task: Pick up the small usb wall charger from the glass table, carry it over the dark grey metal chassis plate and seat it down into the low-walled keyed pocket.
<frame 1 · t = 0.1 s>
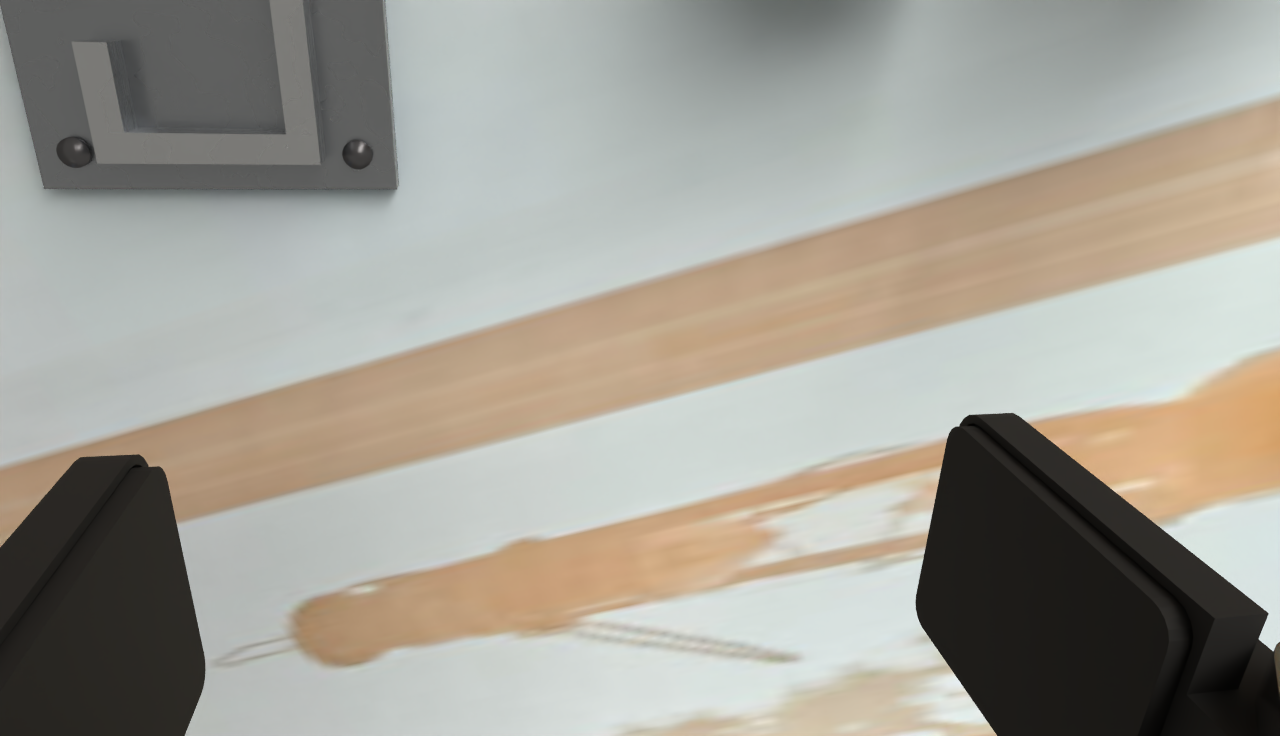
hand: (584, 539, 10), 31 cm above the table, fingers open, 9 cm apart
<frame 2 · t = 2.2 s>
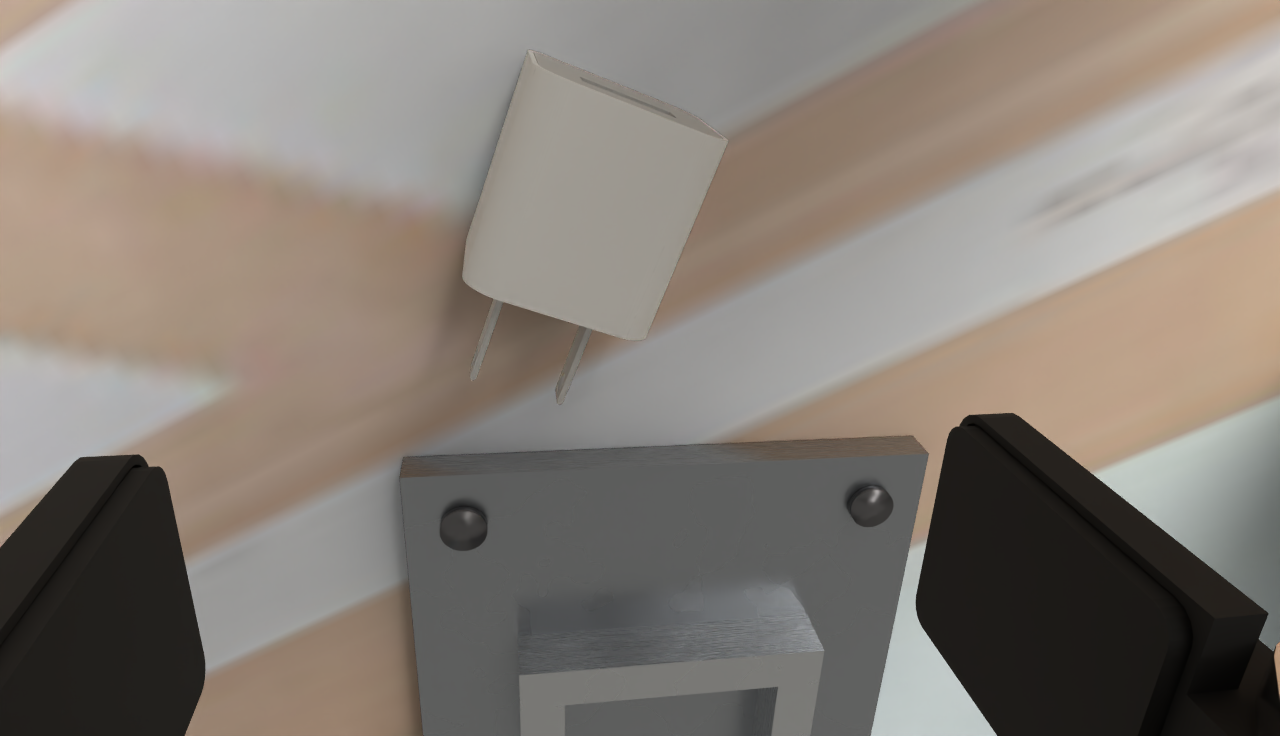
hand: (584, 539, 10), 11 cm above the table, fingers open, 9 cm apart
chassis: (654, 694, 27), on the table
usb wall charger: (559, 222, 21), on the table
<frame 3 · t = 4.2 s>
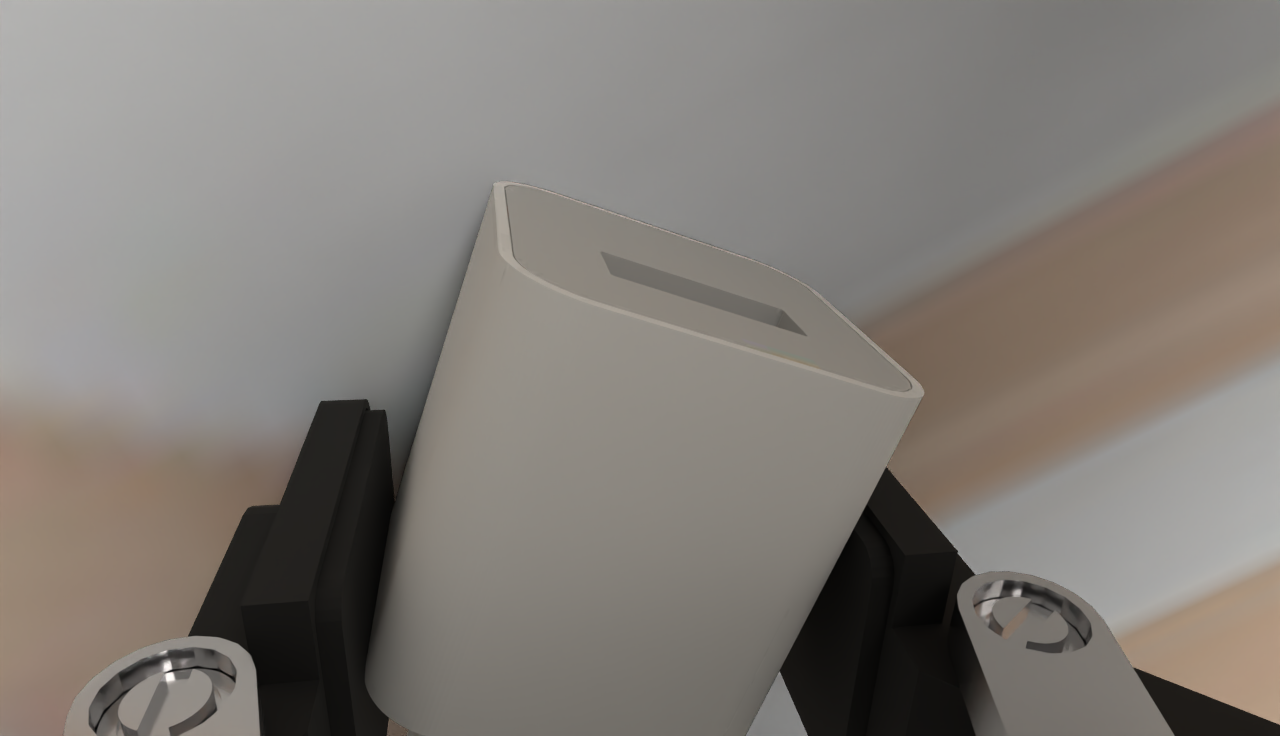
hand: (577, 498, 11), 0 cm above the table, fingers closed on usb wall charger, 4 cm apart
usb wall charger: (560, 460, 12), on the table, touching gripper
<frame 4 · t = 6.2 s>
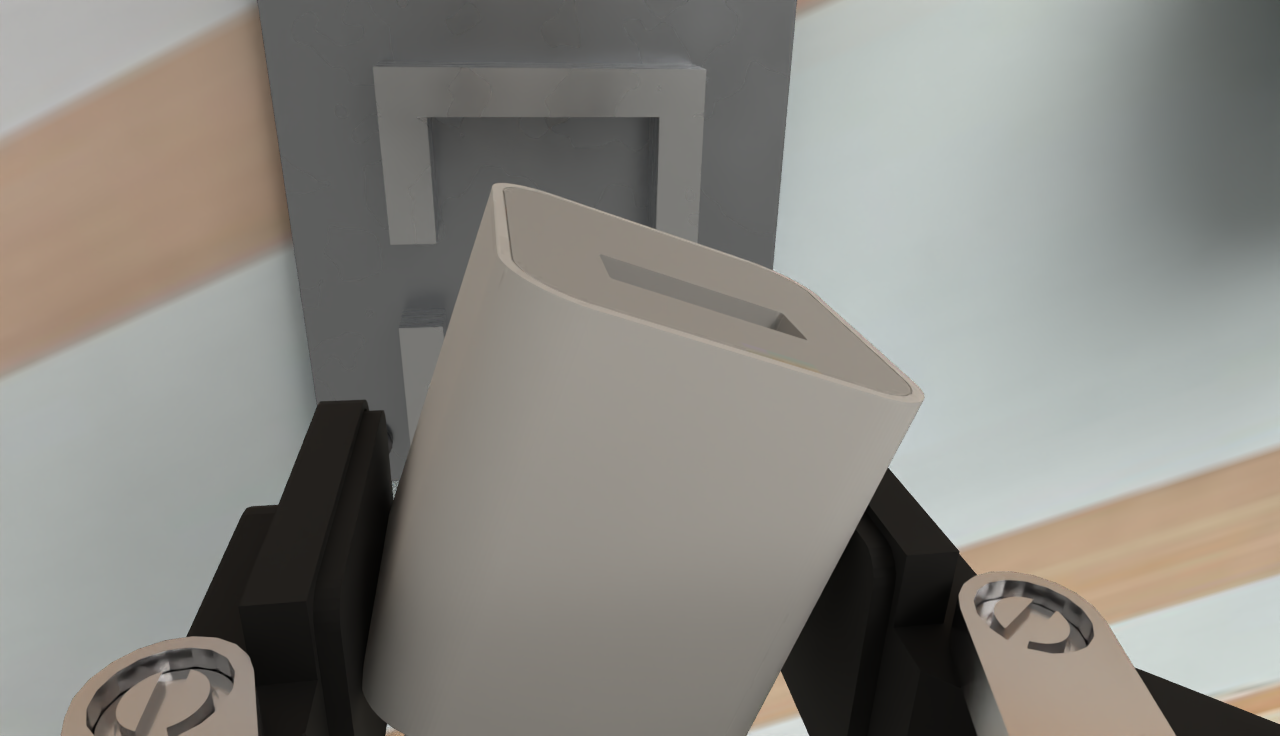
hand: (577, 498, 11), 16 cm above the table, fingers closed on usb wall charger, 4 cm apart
chassis: (542, 191, 26), on the table
usb wall charger: (558, 463, 12), point 15 cm above the table, touching gripper
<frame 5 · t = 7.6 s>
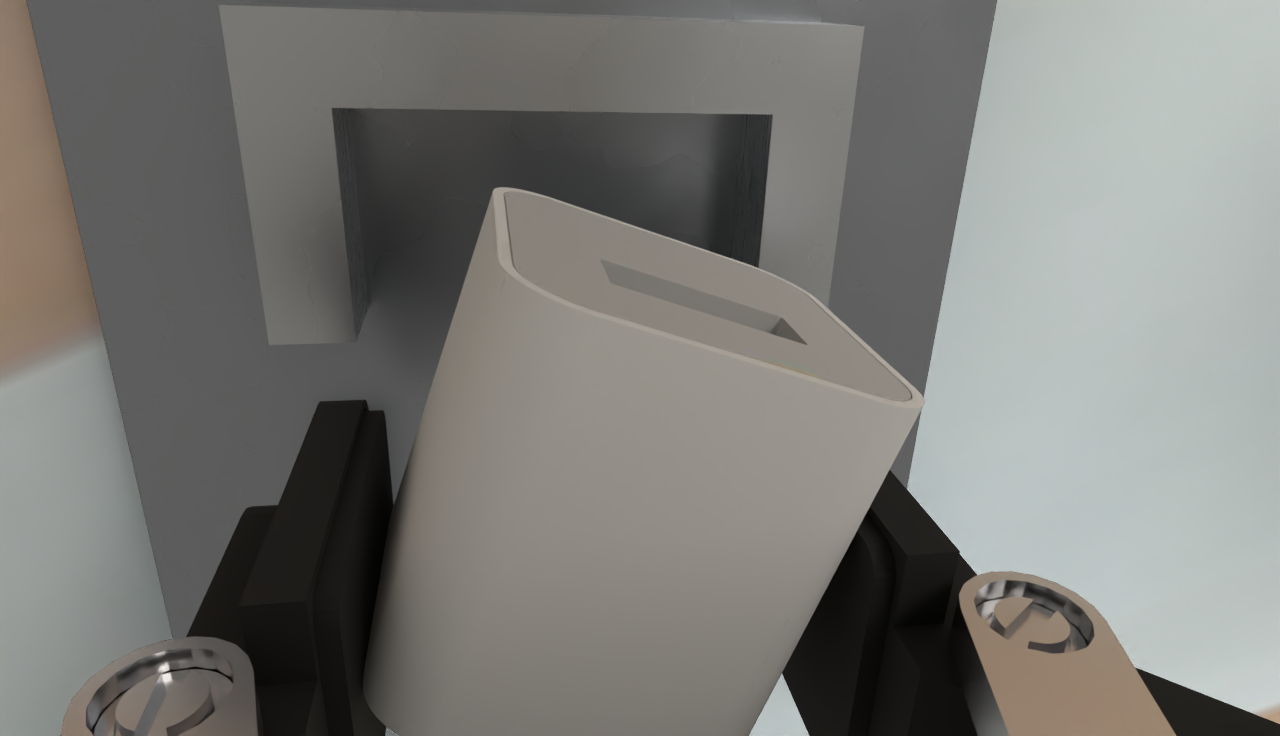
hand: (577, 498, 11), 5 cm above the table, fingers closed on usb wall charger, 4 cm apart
chassis: (549, 241, 15), on the table
usb wall charger: (559, 466, 12), point 4 cm above the table, touching gripper
when the fingers open (3 cm above the table, at t = 8.6 s): usb wall charger drops 2 cm, resting on chassis.
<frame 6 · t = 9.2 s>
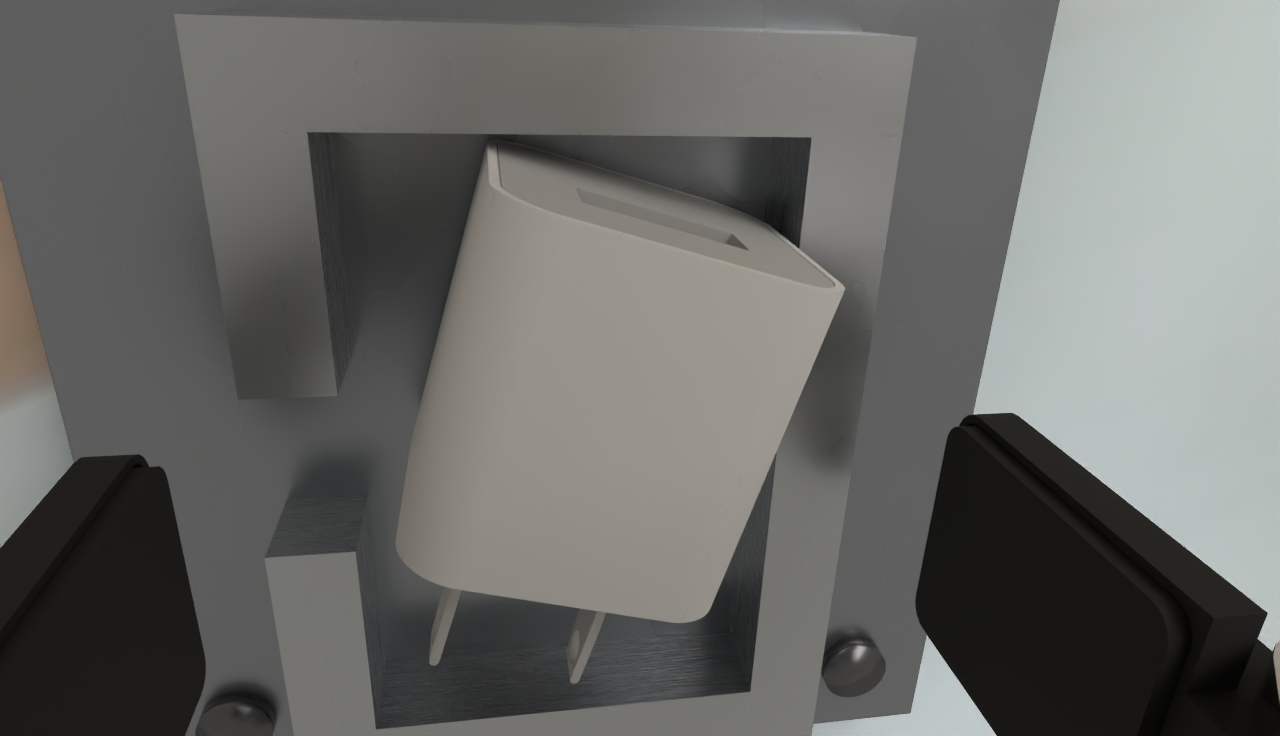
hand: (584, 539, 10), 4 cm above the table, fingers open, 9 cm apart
chassis: (556, 274, 13), on the table
usb wall charger: (557, 387, 13), point 1 cm above the table, touching chassis
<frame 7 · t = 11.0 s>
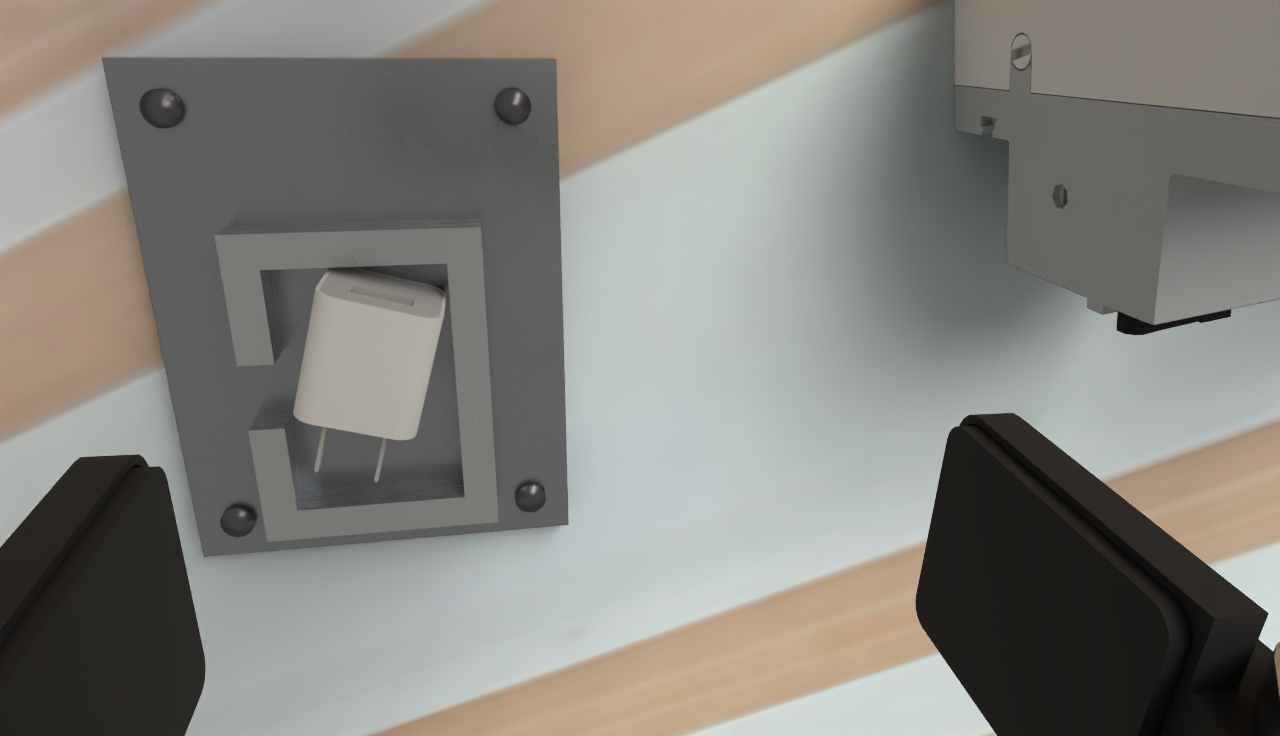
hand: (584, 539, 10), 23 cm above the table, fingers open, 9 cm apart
chassis: (371, 316, 32), on the table
usb wall charger: (372, 363, 32), point 1 cm above the table, touching chassis
circuit breaker: (1041, 86, 34), on the table
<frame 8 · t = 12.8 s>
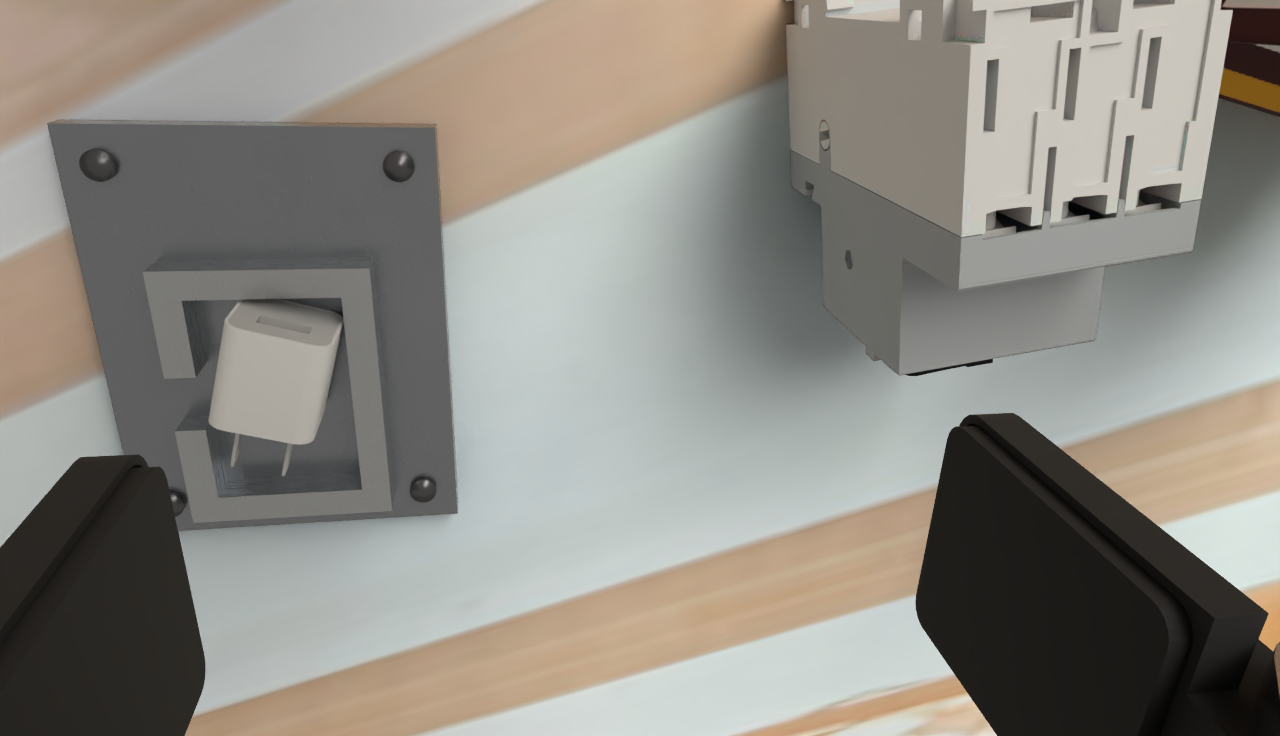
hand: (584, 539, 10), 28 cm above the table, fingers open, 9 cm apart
chassis: (283, 335, 37), on the table
usb wall charger: (284, 374, 37), point 1 cm above the table, touching chassis
circuit breaker: (869, 151, 39), on the table
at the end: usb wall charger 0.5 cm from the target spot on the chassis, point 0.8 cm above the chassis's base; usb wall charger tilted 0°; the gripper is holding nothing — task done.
